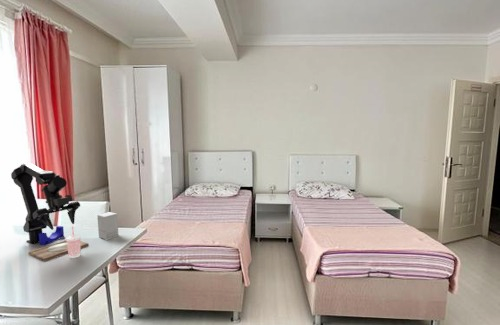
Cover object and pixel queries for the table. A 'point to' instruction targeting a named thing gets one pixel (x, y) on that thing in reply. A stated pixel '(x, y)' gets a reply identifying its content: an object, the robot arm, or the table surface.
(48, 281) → the table surface
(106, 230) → the supplement box
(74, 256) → the beverage cup
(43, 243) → the cable clip
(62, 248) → the board
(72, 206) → the robot arm
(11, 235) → the table surface
